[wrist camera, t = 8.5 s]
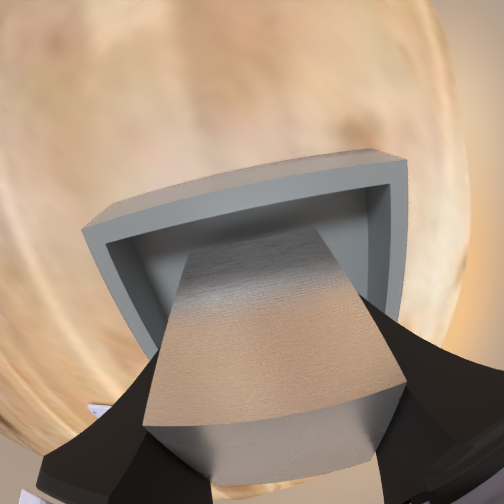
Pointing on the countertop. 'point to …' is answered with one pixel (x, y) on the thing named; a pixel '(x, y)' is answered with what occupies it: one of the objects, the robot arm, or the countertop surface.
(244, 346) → the tin
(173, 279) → the tote
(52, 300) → the countertop surface
